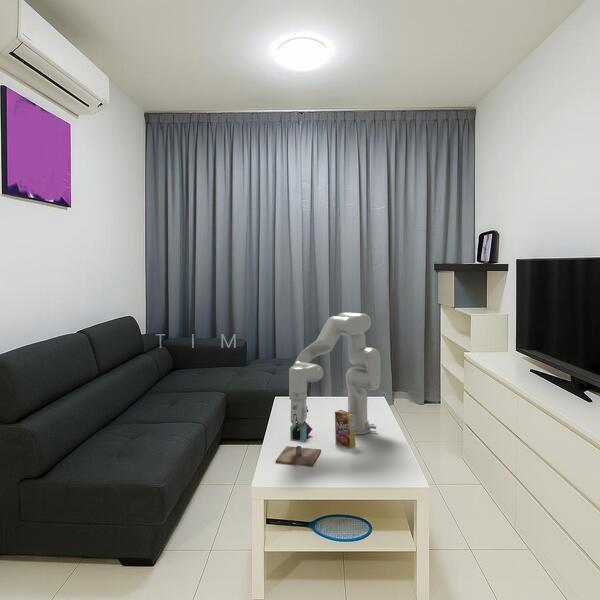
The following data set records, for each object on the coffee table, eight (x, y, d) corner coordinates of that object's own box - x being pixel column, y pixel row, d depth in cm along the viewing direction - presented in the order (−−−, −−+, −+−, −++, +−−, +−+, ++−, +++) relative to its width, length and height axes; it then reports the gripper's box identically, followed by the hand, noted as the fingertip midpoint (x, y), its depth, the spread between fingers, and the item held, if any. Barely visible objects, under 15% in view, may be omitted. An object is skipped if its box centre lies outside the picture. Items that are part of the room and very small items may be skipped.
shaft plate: (321, 451, 203) (321, 441, 203) (312, 466, 188) (312, 456, 187) (286, 448, 207) (286, 438, 207) (275, 463, 192) (275, 452, 191)
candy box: (334, 443, 212) (334, 411, 211) (340, 441, 215) (340, 409, 214) (349, 448, 206) (349, 415, 205) (355, 446, 209) (355, 413, 208)
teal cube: (306, 437, 199) (306, 422, 198) (303, 442, 193) (303, 427, 193) (294, 436, 200) (293, 421, 200) (290, 440, 195) (290, 426, 194)
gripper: (301, 401, 186) (301, 445, 187) (311, 390, 203) (311, 430, 204) (283, 400, 188) (284, 443, 189) (295, 389, 205) (295, 429, 206)
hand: (298, 436), depth 197 cm, fingers closed on teal cube, 5 cm apart
